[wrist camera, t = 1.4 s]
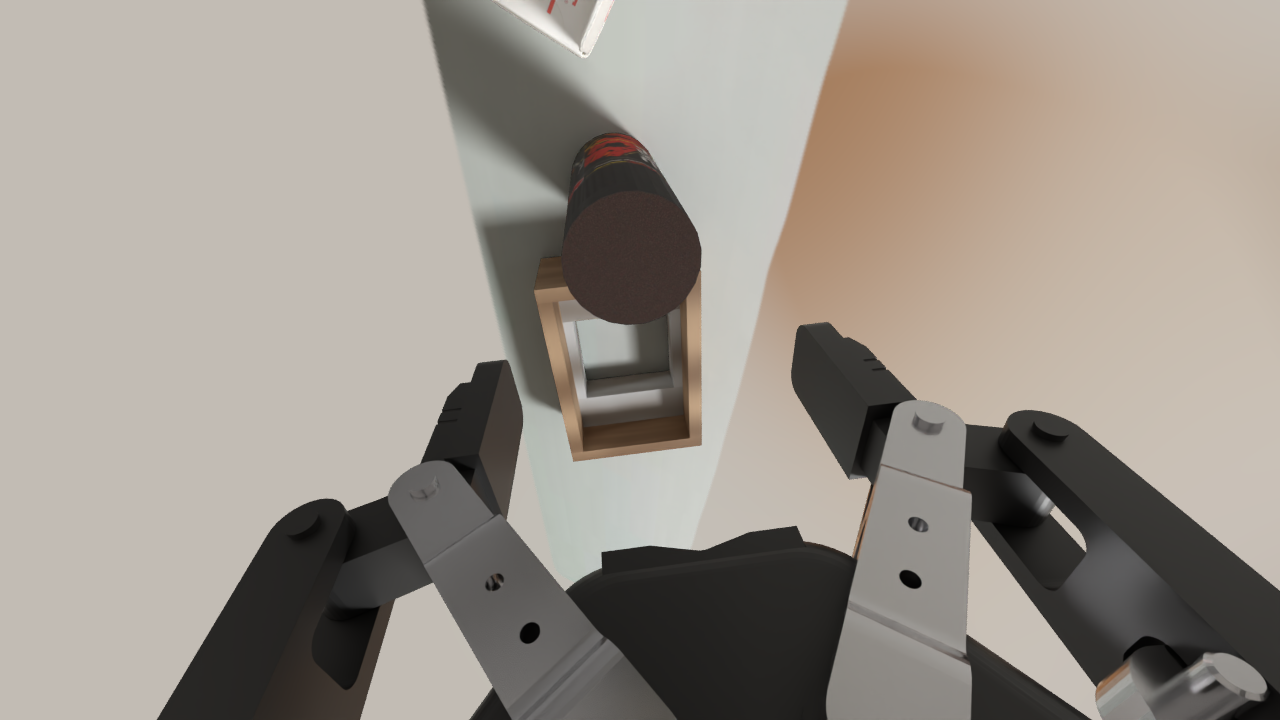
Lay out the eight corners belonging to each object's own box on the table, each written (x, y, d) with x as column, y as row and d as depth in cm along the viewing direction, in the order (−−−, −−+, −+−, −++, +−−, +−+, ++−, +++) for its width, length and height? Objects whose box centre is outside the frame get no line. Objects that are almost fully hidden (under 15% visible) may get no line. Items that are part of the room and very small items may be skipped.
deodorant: (561, 207, 32) (545, 304, 20) (585, 118, 29) (584, 168, 17) (639, 233, 34) (670, 338, 22) (669, 151, 31) (725, 219, 19)
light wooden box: (540, 258, 34) (533, 290, 30) (685, 242, 35) (701, 271, 30) (574, 418, 43) (573, 461, 39) (689, 404, 44) (701, 445, 39)
